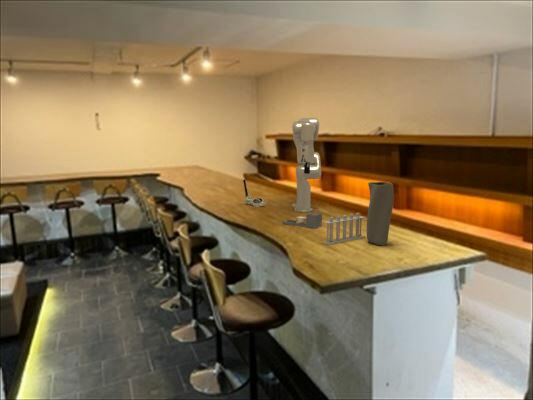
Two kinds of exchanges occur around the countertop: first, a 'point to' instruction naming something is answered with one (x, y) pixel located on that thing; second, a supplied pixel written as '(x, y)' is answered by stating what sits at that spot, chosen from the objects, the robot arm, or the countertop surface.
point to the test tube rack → (344, 220)
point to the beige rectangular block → (301, 220)
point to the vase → (379, 212)
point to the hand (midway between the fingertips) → (306, 173)
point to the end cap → (314, 220)
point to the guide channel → (293, 223)
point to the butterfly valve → (254, 202)
